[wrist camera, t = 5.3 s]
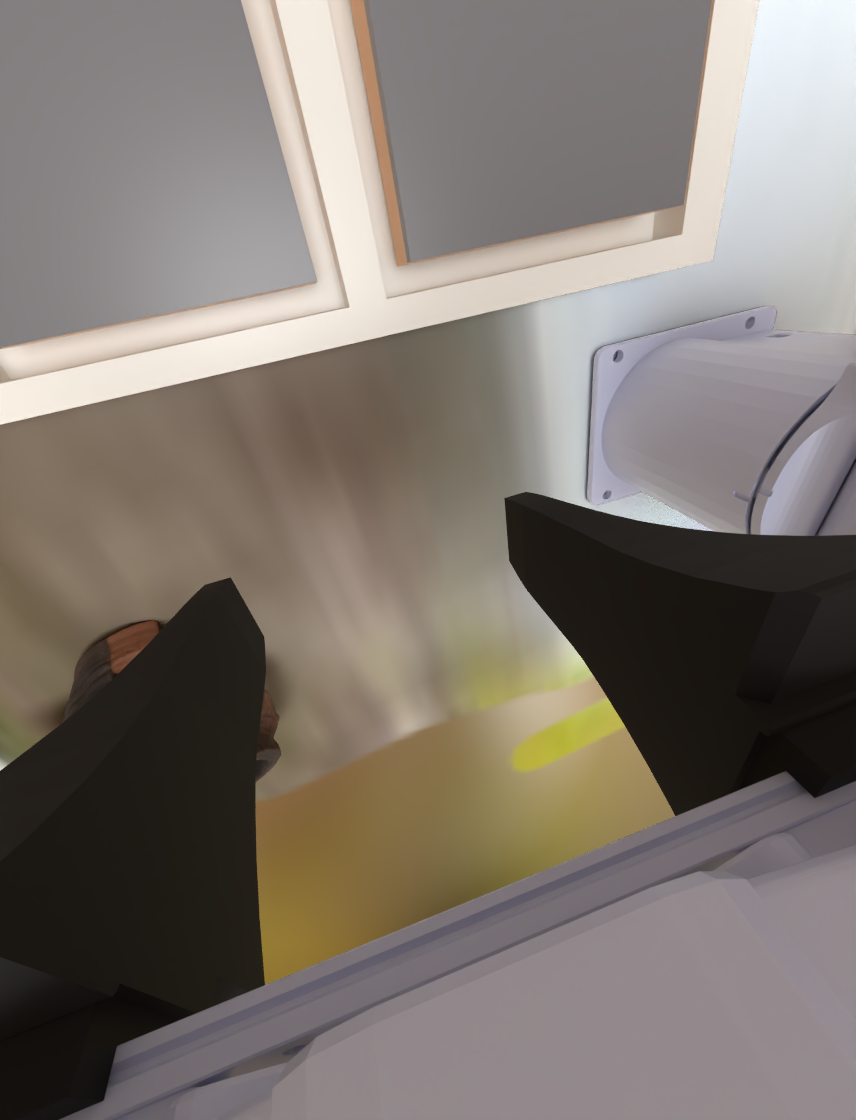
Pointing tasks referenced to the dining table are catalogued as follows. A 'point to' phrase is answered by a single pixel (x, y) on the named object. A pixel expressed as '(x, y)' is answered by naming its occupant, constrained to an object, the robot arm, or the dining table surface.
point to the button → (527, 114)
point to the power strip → (379, 231)
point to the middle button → (136, 166)
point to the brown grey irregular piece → (119, 651)
